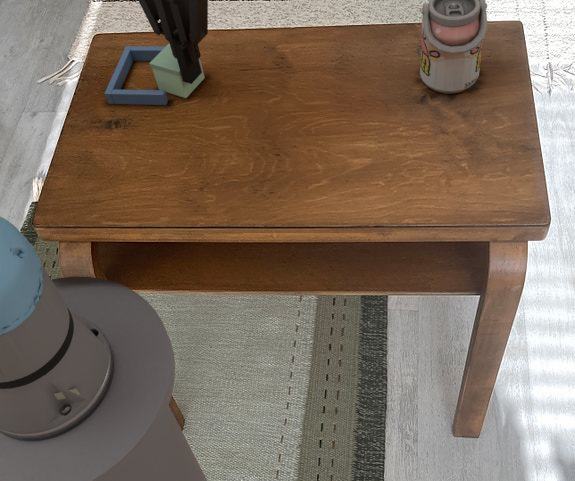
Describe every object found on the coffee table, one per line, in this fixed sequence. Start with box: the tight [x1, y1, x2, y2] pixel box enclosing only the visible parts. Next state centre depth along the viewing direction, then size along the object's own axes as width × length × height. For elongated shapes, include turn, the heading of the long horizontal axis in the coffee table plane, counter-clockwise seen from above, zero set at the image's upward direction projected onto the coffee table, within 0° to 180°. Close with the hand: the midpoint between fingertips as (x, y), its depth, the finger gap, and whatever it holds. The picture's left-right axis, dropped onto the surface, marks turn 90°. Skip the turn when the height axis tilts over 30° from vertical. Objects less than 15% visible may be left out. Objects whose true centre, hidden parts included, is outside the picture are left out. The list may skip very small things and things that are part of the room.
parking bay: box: [104, 45, 169, 106], centre depth 112 cm, size 9×11×2 cm
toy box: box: [149, 42, 206, 99], centre depth 109 cm, size 5×5×5 cm
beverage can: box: [419, 0, 489, 94], centre depth 101 cm, size 9×8×12 cm
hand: (192, 76), depth 107 cm, fingers closed
